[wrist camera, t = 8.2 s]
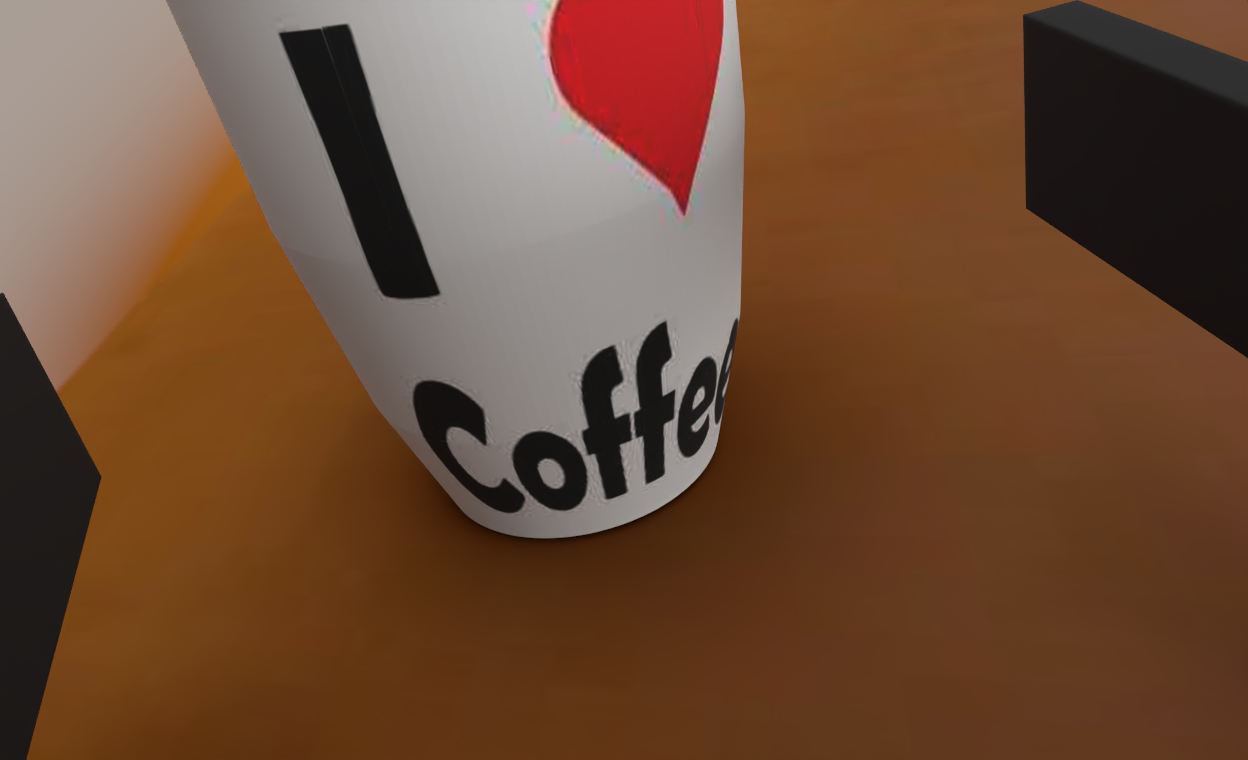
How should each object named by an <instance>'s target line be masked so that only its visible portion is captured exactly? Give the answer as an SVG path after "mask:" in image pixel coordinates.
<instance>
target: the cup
mask: <svg viewBox="0 0 1248 760" xmlns="http://www.w3.org/2000/svg"><path fill="white" fill-rule="evenodd" d="M166 1H167V3H168V6H169V8H170V10H171V12H172V14H173V16H174V19H175V21H176V23H177V25H178V27H179V30H180V32H181V34H182V36H183V38H184V41H185V43H186V45H187V47H188V49H189V52H190V54H191V56H192V58H193V60H194V62H195V65H196V67H197V69H198V71H199V73H200V76H201V78H202V80H203V82H204V84H205V87H206V89H207V91H208V93H209V95H210V97H211V100H212V102H213V104H214V106H215V108H216V111H217V113H218V115H219V117H220V119H221V122H222V123H223V126H224V128H225V130H226V132H227V135H228V137H229V139H230V141H231V143H232V146H233V148H234V150H235V152H236V154H237V157H238V159H239V161H240V163H241V165H242V168H243V170H244V172H245V174H246V176H247V178H248V181H249V183H250V185H251V187H252V189H253V192H254V194H255V196H256V198H257V200H258V203H259V205H260V207H261V209H262V211H263V214H264V216H265V218H266V220H267V222H268V224H269V227H270V229H271V231H272V232H273V234H274V236H275V237H276V239H277V241H278V243H279V244H280V246H281V248H282V249H283V251H284V253H285V254H286V256H287V258H288V259H289V261H290V263H291V264H292V266H293V268H294V269H295V271H296V273H297V275H298V276H299V278H300V280H301V281H302V283H303V285H304V286H305V288H306V290H307V291H308V293H309V295H310V296H311V298H312V300H313V301H314V303H315V305H316V307H317V308H318V310H319V312H320V313H321V315H322V317H323V318H324V320H325V322H326V323H327V325H328V327H329V328H330V330H331V332H332V333H333V335H334V337H335V338H336V340H337V342H338V344H339V345H340V347H341V349H342V350H343V352H344V354H345V355H346V357H347V359H348V360H349V362H350V364H351V365H352V367H353V369H354V370H355V372H356V374H357V376H358V377H359V379H360V381H361V382H362V384H363V386H364V387H365V389H366V391H367V392H368V394H369V396H370V397H371V399H372V401H373V402H374V404H375V406H376V407H377V409H378V410H379V411H380V412H381V414H382V415H383V416H384V417H385V418H386V420H387V421H388V422H389V423H390V424H391V426H392V427H393V428H394V429H395V430H396V432H397V433H398V434H399V435H400V437H401V438H402V439H403V440H404V441H405V443H406V444H407V445H408V446H409V447H410V449H411V450H412V451H413V452H414V453H415V455H416V456H417V457H418V458H419V459H420V461H421V462H422V463H423V464H424V466H425V467H426V468H427V469H428V470H429V472H430V473H431V474H432V475H433V476H434V478H435V479H436V480H437V481H438V482H439V484H440V485H441V486H442V487H443V488H444V490H445V491H446V492H447V493H448V495H449V496H450V497H451V498H452V499H453V501H454V502H455V503H456V504H457V505H458V507H459V508H460V509H461V510H462V511H463V512H464V513H465V514H466V515H467V516H468V517H469V518H471V519H472V520H474V521H475V522H477V523H478V524H480V525H482V526H484V527H486V528H489V529H491V530H494V531H497V532H500V533H504V534H508V535H513V536H519V537H528V538H562V537H572V536H579V535H585V534H590V533H595V532H599V531H603V530H607V529H610V528H613V527H617V526H620V525H622V524H625V523H628V522H631V521H633V520H635V519H638V518H640V517H642V516H644V515H646V514H648V513H651V512H652V511H654V510H656V509H658V508H660V507H661V506H663V505H665V504H666V503H668V502H669V501H671V500H672V499H674V498H675V497H677V496H678V495H679V494H681V493H682V492H683V491H684V490H685V489H687V488H688V487H689V486H690V485H691V484H692V483H693V482H694V481H695V480H696V479H697V478H698V477H699V476H700V474H701V473H702V472H703V471H704V469H705V468H706V466H707V465H708V463H709V462H710V460H711V458H712V456H713V454H714V451H715V449H716V445H717V441H718V435H719V430H720V424H721V419H722V413H723V407H724V402H725V396H726V390H727V385H728V379H729V374H730V368H731V362H732V357H733V351H734V346H735V340H736V334H737V329H738V323H739V318H740V302H741V257H742V213H743V169H744V125H745V108H744V96H743V84H742V72H741V60H740V48H739V37H738V25H737V13H736V1H735V0H166Z"/></svg>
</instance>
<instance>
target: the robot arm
mask: <svg viewBox="0 0 1248 760" xmlns="http://www.w3.org/2000/svg"><path fill="white" fill-rule="evenodd" d="M1023 29H1024V97H1025V165H1026V208H1027V209H1028V210H1030V211H1031V212H1033V213H1034V214H1036V215H1037V216H1038V217H1040V218H1041V219H1043V220H1044V221H1046V222H1047V223H1049V224H1050V225H1052V226H1053V227H1055V228H1056V229H1058V230H1059V231H1061V232H1062V233H1064V234H1065V235H1067V236H1068V237H1070V238H1071V239H1073V240H1074V241H1075V242H1077V243H1078V244H1080V245H1081V246H1083V247H1084V248H1086V249H1087V250H1089V251H1090V252H1092V253H1093V254H1095V255H1096V256H1098V257H1099V258H1101V259H1102V260H1104V261H1105V262H1107V263H1108V264H1110V265H1111V266H1112V267H1114V268H1115V269H1117V270H1118V271H1120V272H1121V273H1123V274H1124V275H1126V276H1127V277H1129V278H1130V279H1132V280H1133V281H1135V282H1136V283H1138V284H1139V285H1141V286H1142V287H1144V288H1145V289H1146V290H1148V291H1149V292H1151V293H1152V294H1154V295H1155V296H1157V297H1158V298H1160V299H1161V300H1163V301H1164V302H1166V303H1167V304H1169V305H1170V306H1172V307H1173V308H1175V309H1176V310H1178V311H1179V312H1181V313H1182V314H1183V315H1185V316H1186V317H1188V318H1189V319H1191V320H1192V321H1194V322H1195V323H1197V324H1198V325H1200V326H1201V327H1203V328H1204V329H1206V330H1207V331H1209V332H1210V333H1212V334H1213V335H1215V336H1216V337H1218V338H1219V339H1220V340H1222V341H1223V342H1225V343H1226V344H1228V345H1229V346H1231V347H1232V348H1234V349H1235V350H1237V351H1238V352H1240V353H1241V354H1243V355H1244V356H1246V357H1247V358H1248V62H1246V61H1244V60H1241V59H1238V58H1235V57H1233V56H1230V55H1227V54H1224V53H1222V52H1219V51H1216V50H1213V49H1211V48H1208V47H1205V46H1202V45H1200V44H1197V43H1194V42H1191V41H1189V40H1186V39H1183V38H1180V37H1177V36H1175V35H1172V34H1169V33H1166V32H1164V31H1161V30H1158V29H1155V28H1153V27H1150V26H1147V25H1144V24H1142V23H1139V22H1136V21H1133V20H1131V19H1128V18H1125V17H1122V16H1120V15H1117V14H1114V13H1111V12H1109V11H1106V10H1103V9H1100V8H1098V7H1095V6H1092V5H1089V4H1086V3H1084V2H1081V1H1078V0H1076V1H1072V2H1069V3H1065V4H1061V5H1058V6H1054V7H1050V8H1047V9H1043V10H1039V11H1036V12H1032V13H1028V14H1025V15H1023ZM100 480H101V475H100V473H99V472H98V470H97V468H96V466H95V464H94V462H93V460H92V458H91V457H90V455H89V453H88V451H87V449H86V447H85V445H84V443H83V442H82V440H81V438H80V436H79V434H78V432H77V430H76V428H75V427H74V425H73V423H72V421H71V419H70V417H69V415H68V413H67V412H66V410H65V408H64V406H63V404H62V402H61V400H60V398H59V397H58V395H57V393H56V391H55V389H54V387H53V385H52V383H51V382H50V380H49V378H48V376H47V374H46V372H45V370H44V368H43V367H42V365H41V363H40V361H39V359H38V357H37V355H36V353H35V352H34V350H33V348H32V346H31V344H30V342H29V340H28V338H27V337H26V335H25V333H24V331H23V329H22V327H21V325H20V323H19V322H18V320H17V318H16V316H15V314H14V312H13V311H12V308H11V307H10V305H9V303H8V301H7V299H6V297H5V295H4V293H1V294H0V760H26V758H27V754H28V751H29V747H30V743H31V739H32V736H33V732H34V728H35V724H36V721H37V717H38V713H39V709H40V706H41V702H42V698H43V694H44V691H45V687H46V683H47V679H48V676H49V672H50V668H51V664H52V661H53V657H54V653H55V649H56V645H57V642H58V638H59V634H60V630H61V627H62V623H63V619H64V615H65V612H66V608H67V604H68V600H69V597H70V593H71V589H72V585H73V582H74V578H75V574H76V570H77V567H78V563H79V559H80V555H81V552H82V548H83V544H84V540H85V537H86V533H87V529H88V525H89V521H90V518H91V514H92V510H93V506H94V503H95V499H96V495H97V491H98V488H99V484H100Z"/></svg>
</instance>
